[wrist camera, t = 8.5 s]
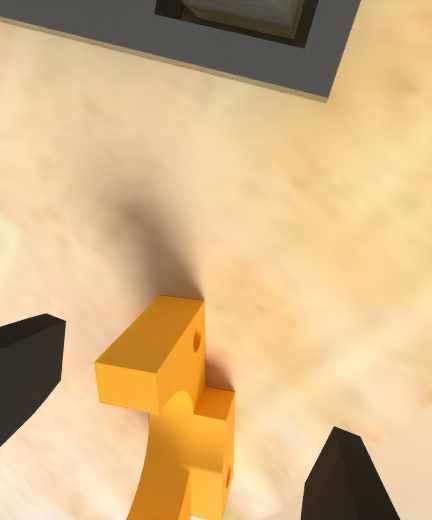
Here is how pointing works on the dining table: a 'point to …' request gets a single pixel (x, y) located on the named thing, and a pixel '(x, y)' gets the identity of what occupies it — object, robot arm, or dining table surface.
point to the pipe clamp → (173, 411)
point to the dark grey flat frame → (198, 40)
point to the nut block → (252, 14)
